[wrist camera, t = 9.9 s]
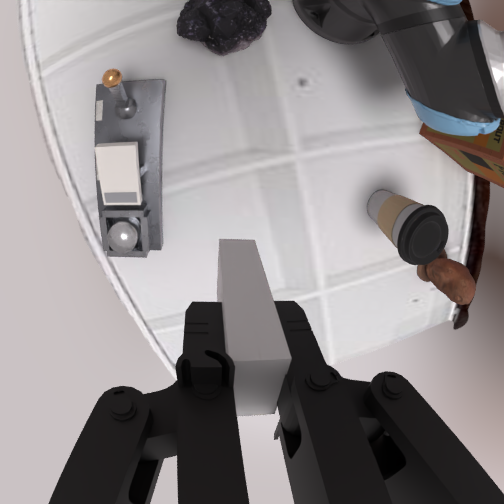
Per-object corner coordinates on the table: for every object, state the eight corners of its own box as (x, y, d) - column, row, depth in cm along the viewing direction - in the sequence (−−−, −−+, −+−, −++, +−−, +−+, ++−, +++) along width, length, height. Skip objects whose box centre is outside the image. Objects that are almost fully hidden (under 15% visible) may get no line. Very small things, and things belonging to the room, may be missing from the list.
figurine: (421, 242, 54) (468, 274, 41) (448, 244, 56) (491, 273, 43) (409, 280, 58) (450, 317, 44) (436, 279, 60) (475, 311, 46)
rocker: (97, 143, 32) (94, 147, 31) (137, 141, 32) (134, 145, 32) (106, 200, 38) (103, 205, 37) (142, 200, 39) (140, 205, 38)
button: (113, 214, 40) (105, 225, 36) (140, 214, 41) (134, 225, 37) (116, 240, 42) (109, 252, 38) (142, 241, 43) (137, 253, 39)
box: (419, 133, 43) (502, 159, 25) (433, 93, 39) (517, 106, 21) (466, 170, 47) (535, 205, 30) (478, 135, 43) (549, 161, 26)
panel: (102, 85, 33) (88, 83, 28) (166, 81, 35) (159, 77, 30) (107, 242, 45) (97, 257, 40) (163, 243, 47) (158, 259, 42)
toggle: (117, 98, 32) (102, 66, 24) (133, 97, 32) (121, 63, 25) (114, 112, 32) (97, 81, 24) (130, 111, 32) (116, 79, 25)
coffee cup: (398, 224, 51) (445, 263, 38) (357, 232, 50) (400, 275, 37) (401, 178, 46) (456, 207, 33) (358, 182, 46) (408, 214, 33)
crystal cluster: (257, -22, 28) (260, -53, 19) (282, 46, 34) (294, 25, 25) (172, 0, 29) (155, -26, 20) (193, 69, 35) (179, 54, 26)
